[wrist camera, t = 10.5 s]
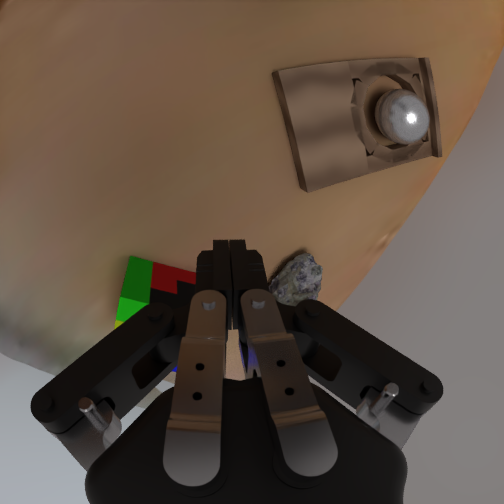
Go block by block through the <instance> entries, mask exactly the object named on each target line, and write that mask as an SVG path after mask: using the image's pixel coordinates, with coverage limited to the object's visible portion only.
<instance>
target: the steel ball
mask: <svg viewBox="0 0 504 504" xmlns="http://www.w3.org/2000/svg"><path fill="white" fill-rule="evenodd" d="M375 120H376V123H377V126H378V128H379V129H380V131H381V132H382V134H383V135H384V136H385V137H387V138H388V139H389V140H391V141H393V142H395V143H399V144H412V143H415V142H417V141H419V140H420V139H421V138H423V136H424V135H425V134H426V132H427V130H428V127H429V122H430V118H429V112H428V109H427V107H426V105H425V103H424V102H423V101H422V99H421V98H420V97H419V96H417V95H416V94H415V93H413V92H411V91H408V90H405V89H393V90H390V91H388V92H386V93H385V94H383V95H382V96H381V97H380V98H379V100H378V102H377V104H376V107H375Z"/></svg>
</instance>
